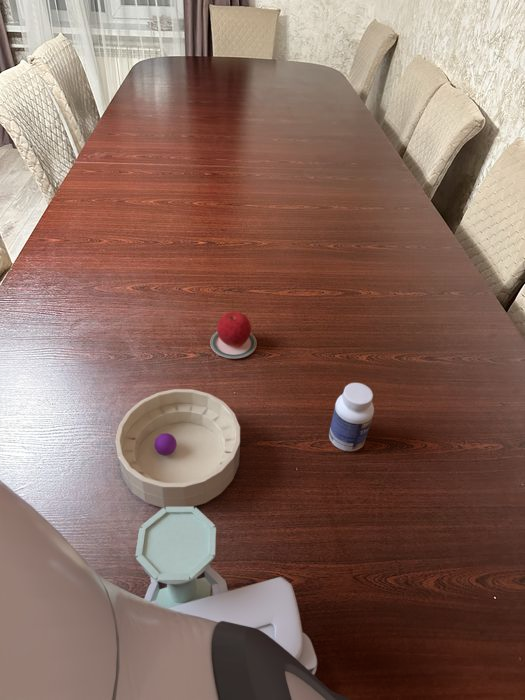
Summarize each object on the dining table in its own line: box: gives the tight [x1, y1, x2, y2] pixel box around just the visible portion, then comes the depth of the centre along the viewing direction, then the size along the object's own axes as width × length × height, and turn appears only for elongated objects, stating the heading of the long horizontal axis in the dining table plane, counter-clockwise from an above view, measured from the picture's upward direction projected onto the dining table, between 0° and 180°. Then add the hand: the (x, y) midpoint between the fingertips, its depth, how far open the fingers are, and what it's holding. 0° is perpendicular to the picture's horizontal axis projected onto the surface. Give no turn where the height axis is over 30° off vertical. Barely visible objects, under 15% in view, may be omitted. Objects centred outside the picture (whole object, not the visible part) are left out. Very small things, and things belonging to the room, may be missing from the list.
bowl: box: [114, 388, 241, 509], centre depth 71 cm, size 16×16×6 cm
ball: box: [155, 433, 177, 455], centre depth 72 cm, size 3×3×3 cm
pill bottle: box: [328, 382, 375, 452], centre depth 74 cm, size 5×5×10 cm
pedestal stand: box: [134, 506, 217, 608], centre depth 52 cm, size 7×7×11 cm
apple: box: [209, 311, 257, 360], centre depth 89 cm, size 8×8×6 cm
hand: (178, 562), depth 53 cm, fingers closed on pedestal stand, 3 cm apart
